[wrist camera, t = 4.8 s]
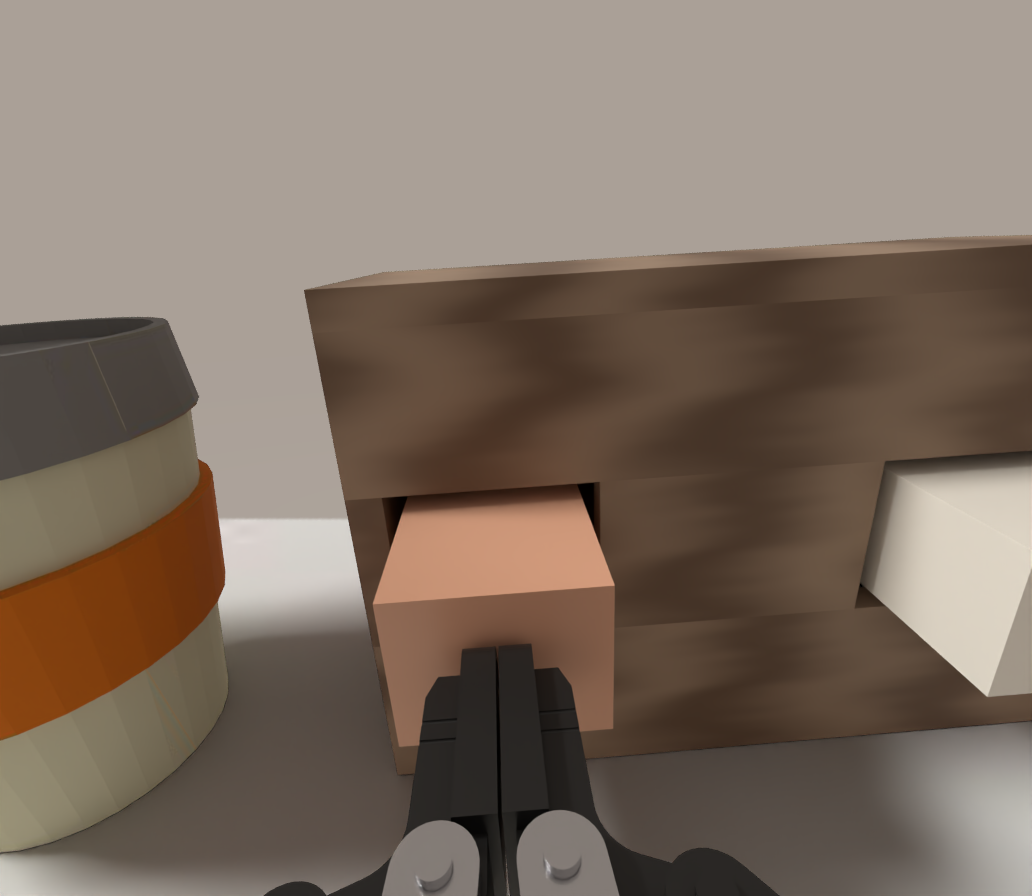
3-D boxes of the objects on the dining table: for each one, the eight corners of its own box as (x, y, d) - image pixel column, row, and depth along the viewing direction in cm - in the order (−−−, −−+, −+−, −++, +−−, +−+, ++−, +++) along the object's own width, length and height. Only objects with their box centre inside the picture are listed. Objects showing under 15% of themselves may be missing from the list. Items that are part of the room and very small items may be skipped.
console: (397, 775, 18) (304, 290, 12) (428, 595, 27) (383, 272, 22) (1076, 716, 19) (1286, 228, 13) (880, 560, 28) (951, 236, 22)
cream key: (987, 696, 13) (1036, 552, 11) (816, 543, 19) (833, 440, 18) (1189, 679, 13) (1264, 534, 11) (950, 533, 19) (978, 429, 18)
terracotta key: (399, 746, 12) (372, 604, 11) (430, 573, 19) (416, 469, 17) (613, 728, 12) (614, 585, 11) (569, 562, 19) (567, 459, 17)
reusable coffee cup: (-13, 669, 24) (-187, 340, 19) (281, 597, 28) (206, 307, 23) (-283, 1015, 13) (-895, 456, 8) (264, 817, 17) (109, 353, 12)
